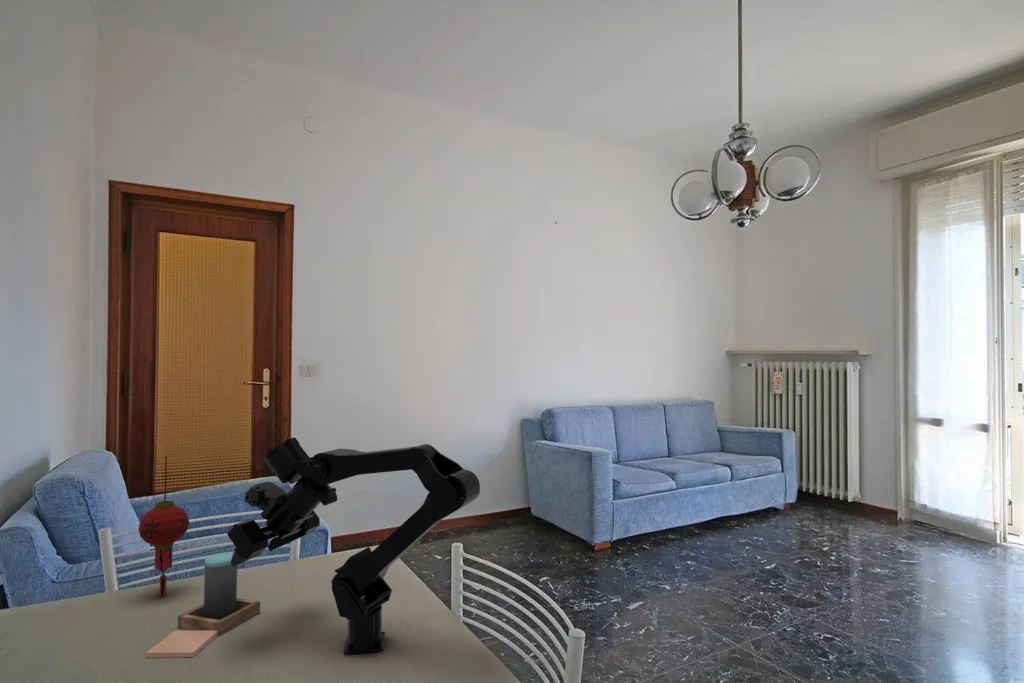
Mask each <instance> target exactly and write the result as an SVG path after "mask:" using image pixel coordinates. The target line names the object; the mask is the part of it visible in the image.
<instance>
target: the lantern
mask: <svg viewBox="0 0 1024 683" xmlns="http://www.w3.org/2000/svg"><path fill="white" fill-rule="evenodd" d="M164 458H165V459H164V460H165V461H164V463H165V464H164V498H163V499H164V500H163V501H159V502H156V503H155V506H154V507H153V508H152V509H150V510H149V511H147V512H145V514H144V515H143V516H142V518H141V519H140V522H139V525H138V533H139V538H141V540H143V541H144V542H145V543H147V544H148V545H152V546H153V548H154V569H155V570H157V571H159V572H161V573H162V575H160V577H159V596H158V597H159V598H160V597H163V598H165V596H166V597H167V575H166V574H165V572H167V570H168V569H169V568H172V566H173V548H174V545H175V543H176V542H177V541H179V540H180V539H181V538H182V537H183V536H184V535H185V534H186V532H187V531H188V530H189V526H190V520H189V514H188V513H187V512H186V510H185V509H183V507H181V506H177V505H176V503H175V501H174V500H167V467H168V466H167V464H168V463H167V461H168V460H167V459H168V456H167V455H165V456H164Z"/></svg>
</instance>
